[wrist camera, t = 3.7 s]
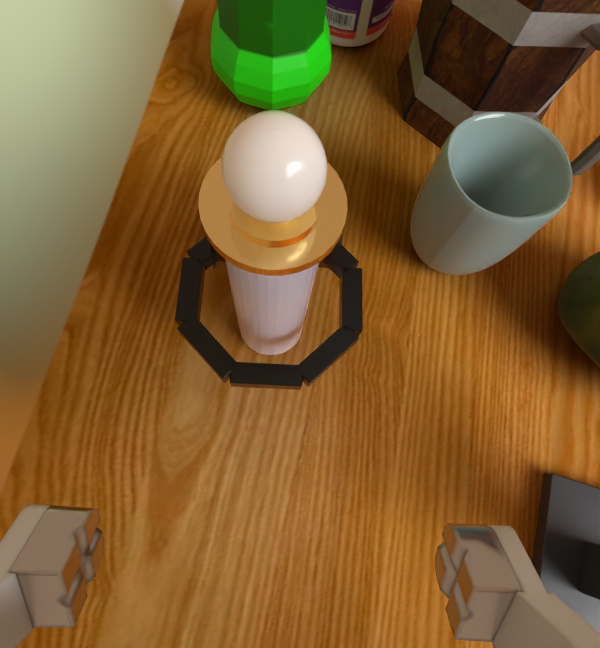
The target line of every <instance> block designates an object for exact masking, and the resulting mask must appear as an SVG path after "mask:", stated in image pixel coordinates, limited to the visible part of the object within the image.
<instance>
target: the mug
mask: <svg viewBox="0 0 600 648" xmlns="http://www.w3.org/2000/svg"><path fill="white" fill-rule="evenodd" d="M595 50H600V0H423V1H422V5H421V10H420V14H419V18H418V22H417V26H416V29H415V32H414V35H413V38H412V41H411V44H410V47H409V50H408V52H407V54H406V56H405V58H404V60H403V63H402V65H401V67H400V69H399V71H398V73H397V75H398V83H399V90H400V98H401V105H402V112H403V120H405V121H406V122H407V123H409V124H410V125H411V126H412V127H414V128H415V129H416V130H418V131H419V132H420V133H422V134H423V135H424V136H426V137H427V138H428V139H429V140H431V141H432V142H433V143H435V144H436V145H437V146H439V147H440V148H441V147H442V145H443V144H444V142H445V141H446V139H447V137H448V136H449V134H450V133H451V132H452V130H453V129H454V128H455V127H456V126H457V125H459V124H460V123H461V122H462V121H464V120H466V119H468V118H470V117H472V116H475V115H479V114H483V113H490V112H509V113H514V114H520V115H523V116H526V117H529V118H531V119H533V120H535V121H537V122H539V123H541V119H542V118H543V116H544V114H545V113H546V111H547V109H548V108H549V106H550V104H551V102H552V101H553V99H554V98H555V97H556V95H557V94H558V93H559V91H560V90H561V89H562V88H563V86H564V85H565V84H566V82H567V81H568V80H569V78H570V77H571V76H572V75H573V74H574V73H575V72H576V71H577V70H578V69H579V68H580V67H581V65H582V64H583V63H584V62H585V61H586V60H587V59H588V58H589V57H590V56H591V55H592V54H593V53H594V51H595ZM541 124H542V123H541ZM599 160H600V136H599V137H598V138H597V139H596V140H595V141H594V142H593V143H592V144H591V145H590V146H588V147H587V148H586V149H585V150H584V151H583V152H582V153H581V154H580V155H579V156H578V157H577V158H576V159H575V160H574V161H573V162H571V163H570V164H571V168H572V176H576V175H580V174H582V173H583V172H585V171H586V170H587V169H589V168H590V167H591V166H592V165H594V164H595V163H596V162H597V161H599Z"/></svg>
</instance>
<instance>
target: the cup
mask: <svg viewBox="0 0 600 648" xmlns="http://www.w3.org/2000/svg"><path fill="white" fill-rule="evenodd" d="M572 184H573V178H572V168H571V164H570V160H569V158H568V155H567V153H566V151H565V149H564V147H563V146H562V144H561V143H560V141H559V140H558V139H557V137H556V136H555V135H554V134H553V133H552V132H551V131H550V130H549V129H547V128H546V127H545V126H544V125H542V124H541V123H539V122H537V121H535V120H533V119H531V118H529V117H526V116H523V115H520V114H514V113H509V112H490V113H483V114H479V115H475V116H472V117H470V118H468V119H466V120H464V121H462V122H461V123H460V124H459V125H457V126H456V127H455V128H454V129H453V130H452V132H451V133H450V134H449V136H448V137H447V139H446V141H445V142H444V144H443V145H442V147H441V149H440V151H439V152H438V154H437V156H436V158H435V160H434V162H433V164H432V165H431V167H430V169H429V171H428V173H427V175H426V177H425V179H424V181H423V183H422V185H421V187H420V190H419V192H418V195H417V197H416V200H415V203H414V206H413V210H412V214H411V221H410V233H411V240H412V243H413V247H414V249H415V251H416V253H417V255H418V256H419V258H420V259H421V260H422V262H424V263H425V264H426V265H427V266H428V267H429V268H431V269H433V270H435V271H437V272H440V273H443V274H449V275H467V274H473V273H476V272H479V271H482V270H485V269H487V268H489V267H491V266H493V265H494V264H496V263H498V262H500V261H501V260H503V259H504V258H506V257H507V256H509V255H510V254H511V253H513V252H514V251H515V250H517V249H518V248H519V247H520V246H521V245H523V244H524V243H525V242H526V241H527V240H529V239H530V238H531V237H532V236H533V235H534V234H535V233H537V232H538V231H539V230H540V229H541V228H542V227H543V226H544V225H545V224H547V223H548V222H549V221H550V220H551V219H552V218H553V217H554V216H555V215H556V214H557V213H558V212H559V211H560V210H561V209H562V208H563V207H564V205H565V204H566V202H567V200H568V198H569V196H570V194H571V189H572Z"/></svg>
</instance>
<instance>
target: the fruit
mask: <svg viewBox="0 0 600 648" xmlns="http://www.w3.org/2000/svg"><path fill="white" fill-rule="evenodd" d="M558 311H559V316H560V319H561V322H562V324H563V326H564V328H565V329H566V330H567V332H568V333H569V335H570V336H571V337H572V339H573V340H574V342H575V343H576V344H577V345H578V346H579V347H580V348H581V349H582V350H583V351H584V353H585V354H586V355H587V356H588V357H589V358H590V359H591V360H592V361H593V362H594V363H595V364H596V365H597V366H599V367H600V252H598V253H596V254H594V255H592V256H590V257H589V258H587V259H586V260H584V261H583V262H581V263H580V264H579V265H578V266H577V267H576V268H575V269H574V270H573V271H572V272H571V273H570V274H569V276H568V277H567V279H566V281H565V283H564V285H563V287H562V289H561V291H560V294H559V299H558Z"/></svg>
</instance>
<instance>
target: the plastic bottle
mask: <svg viewBox="0 0 600 648" xmlns="http://www.w3.org/2000/svg"><path fill="white" fill-rule="evenodd" d="M217 4H218V8H217V10H216V12H215V15H214V19H213V22H212V30H211V61H212V68H213V69H214V71H215V72H216V74H217V75H218V77H219V78H220V80H221V81H222V82H223V83H224V84H225V85H226V86H227V87H228V89H229V90H230V91H231V92H232V93H233V94H234V95H235V96H236V98H237V99H238V100H239V101H241V102H243V103H245V104H248V105H252V106H255V107H259V108H262V109H266V110H279V109H283V108H287V107H292V106H296V105H300V104H302V103H304V102H305V101H306V100H307V99H308V98H309V97H310V95H311V94H312V93H313V92H314V91H315V90H316V89H317V87H318V86H319V85H320V84H321V83H322V82H323V80H324V79H325V77H326V76H327V74H328V73H329V72H330V67H331V60H332V55H331V41H330V29H329V25H328V21H327V17H326V14H325V12H326V4H327V0H217Z"/></svg>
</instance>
